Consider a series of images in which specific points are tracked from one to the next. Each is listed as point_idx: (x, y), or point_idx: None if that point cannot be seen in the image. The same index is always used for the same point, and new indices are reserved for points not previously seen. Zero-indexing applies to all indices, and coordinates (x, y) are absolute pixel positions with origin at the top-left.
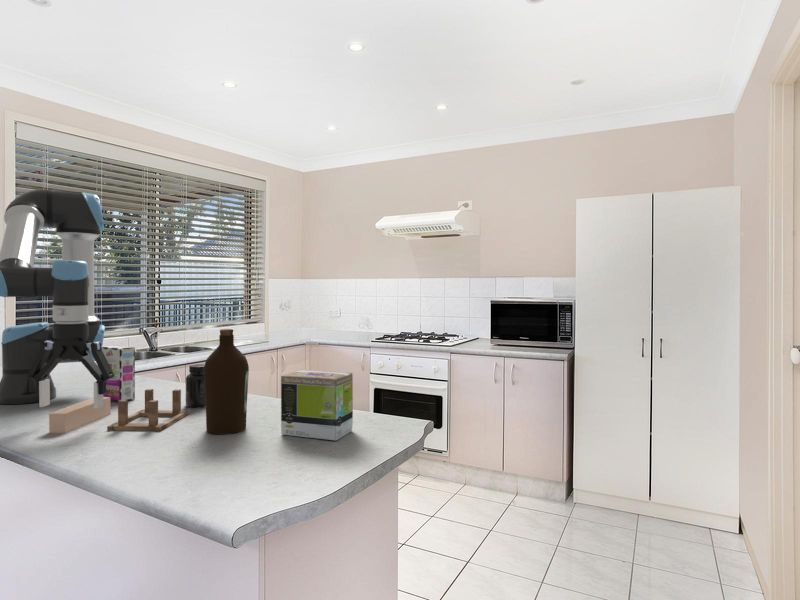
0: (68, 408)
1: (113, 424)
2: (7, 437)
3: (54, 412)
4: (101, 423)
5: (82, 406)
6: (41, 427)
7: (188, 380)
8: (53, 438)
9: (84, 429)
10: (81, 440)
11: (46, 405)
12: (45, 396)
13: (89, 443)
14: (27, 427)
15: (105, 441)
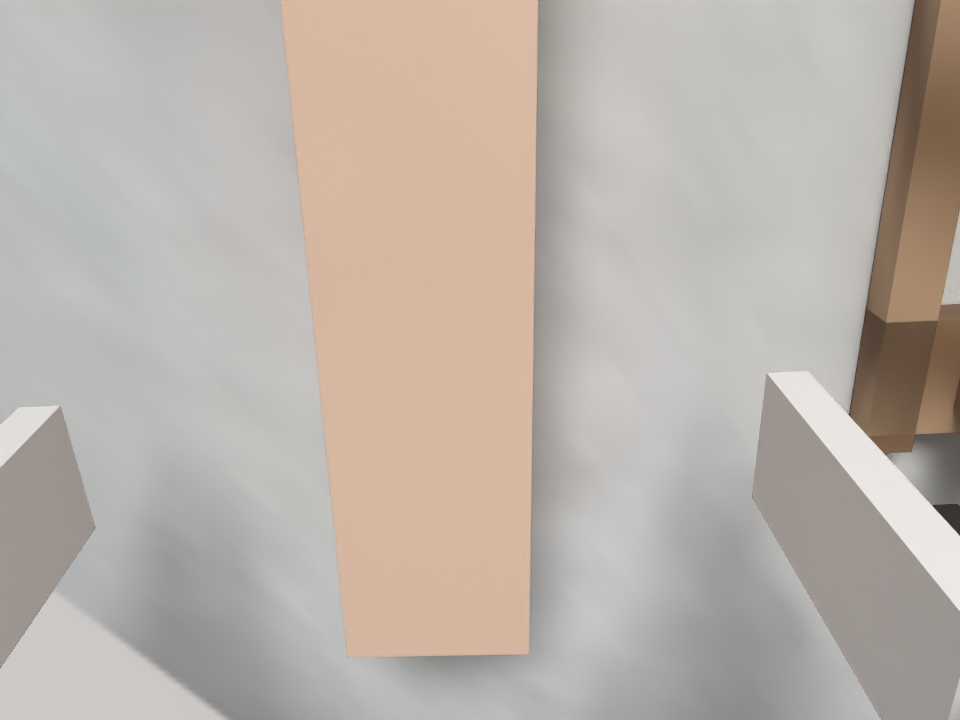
0: (395, 462)
1: (895, 386)
2: (145, 652)
3: (375, 624)
4: (660, 205)
5: (500, 354)
6: (156, 393)
7: None
8: None
9: (612, 417)
10: (763, 665)
11: (74, 463)
12: (19, 561)
13: (857, 712)
14: (24, 405)
15: None
